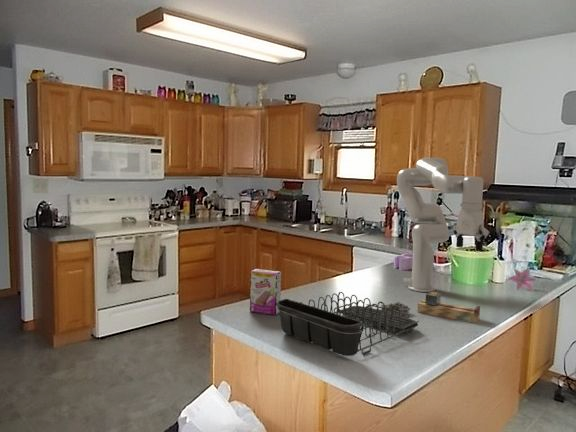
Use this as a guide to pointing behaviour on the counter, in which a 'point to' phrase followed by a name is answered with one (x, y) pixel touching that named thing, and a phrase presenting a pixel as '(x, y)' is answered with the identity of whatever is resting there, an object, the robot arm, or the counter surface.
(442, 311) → the rail
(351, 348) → the dish rack
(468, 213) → the robot arm
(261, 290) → the candy bar box
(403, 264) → the clip
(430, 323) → the counter surface
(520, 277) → the lily
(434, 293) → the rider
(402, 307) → the egg carton
